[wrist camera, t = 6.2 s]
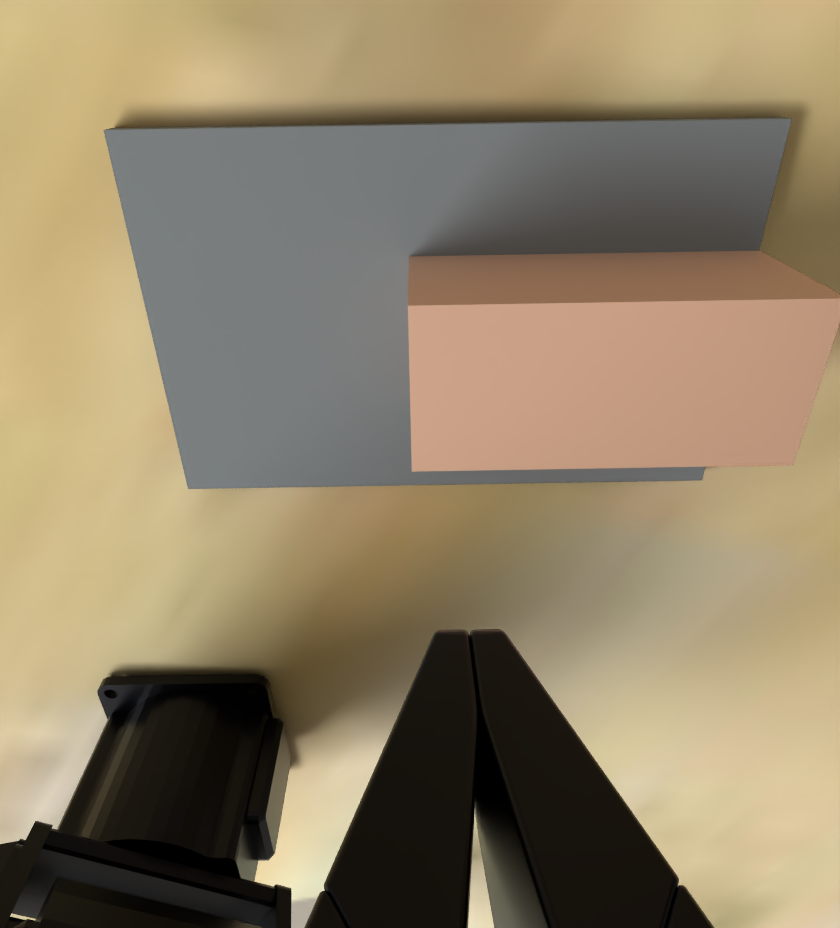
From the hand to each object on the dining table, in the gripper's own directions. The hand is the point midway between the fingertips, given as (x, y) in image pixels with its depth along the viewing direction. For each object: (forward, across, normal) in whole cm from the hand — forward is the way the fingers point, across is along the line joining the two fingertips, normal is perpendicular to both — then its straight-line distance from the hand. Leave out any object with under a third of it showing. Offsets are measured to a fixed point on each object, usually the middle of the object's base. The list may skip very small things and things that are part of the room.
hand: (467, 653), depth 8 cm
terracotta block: (+9, +1, 0) cm, 9 cm away
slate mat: (+12, 0, 0) cm, 12 cm away
